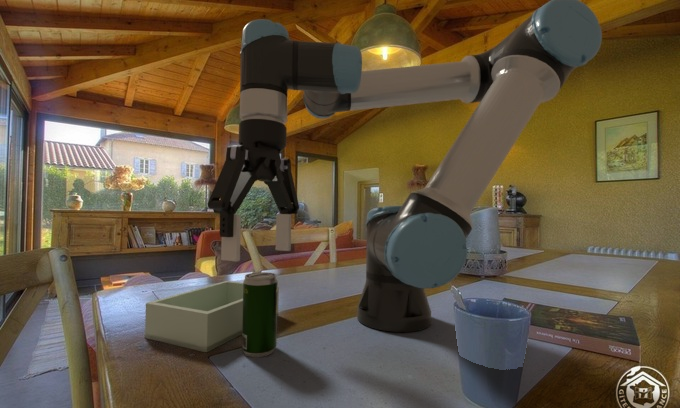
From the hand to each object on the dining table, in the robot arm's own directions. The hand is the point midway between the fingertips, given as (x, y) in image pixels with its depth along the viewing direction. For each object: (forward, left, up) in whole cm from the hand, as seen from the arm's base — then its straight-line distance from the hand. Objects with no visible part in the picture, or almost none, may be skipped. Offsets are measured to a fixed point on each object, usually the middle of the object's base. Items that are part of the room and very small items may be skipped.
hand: (259, 255), depth 53 cm
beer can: (0, 0, -15) cm, 15 cm away
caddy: (+14, -6, -15) cm, 21 cm away
